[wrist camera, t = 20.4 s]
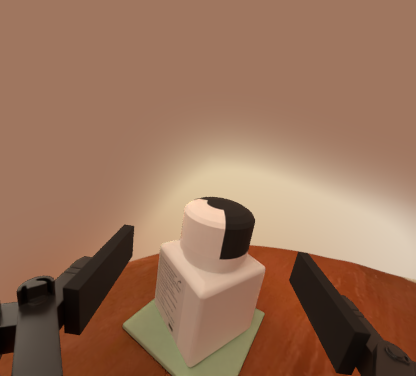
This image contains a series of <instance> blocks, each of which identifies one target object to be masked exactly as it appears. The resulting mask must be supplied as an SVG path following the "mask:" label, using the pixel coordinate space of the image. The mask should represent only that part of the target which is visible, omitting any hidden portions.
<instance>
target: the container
mask: <svg viewBox="0 0 416 376" xmlns="http://www.w3.org/2000/svg"><path fill="white" fill-rule="evenodd" d="M254 224H255V219H254V216H253V214H252V213H251V212H250V211H249V210H248V209H247V208H245V207H244V206H242V205H241V204H239V203H237V202H234V201H231V200H228V199H224V198H218V197H203V198H199V199H195V200H192V201H190V202H189V203H188V204H187V205H186V206H185V210H184V218H183V225H182V232H181V239H179V240H174V241H170V242H165V243H163V244H161V246H160V255H159V265H158V274H157V284H156V293H155V305H156V307H157V309H158V310H159V312H160V314H161V316H162V318H163V320H164V322H165V324H166V326H167V328H168V330H169V332H170V334H171V336H172V338H173V340H174V342H175V343H176V345H177V347H178V349H179V351H180V353H181V355H182V357H183V359H184V361H185V363H186V365H187V366H188V367H190V368H191V367H193V366H195V365H196V364H197V363H199V362H200V361H202V360H203V359H205V358H206V357H208V356H209V355H211V354H212V353H214V352H215V351H217V350H218V349H219V348H221V347H222V346H224V345H225V344H227V343H228V342H230V341H231V340H233V339H234V338H236V337H237V336H239V335H240V334H241V333H243V332H244V331H246V330H247V329H249V327H250V325H251V321H252V318H253V314H254V310H255V307H256V303H257V299H258V296H259V292H260V288H261V285H262V281H263V278H264V274H265V267H264V266H263V265H262V264H261V263H259V262H258V261H257V260H255V259H254V258H253V257H251V256H250V255H249V254H247V253H248V249H249V245H250V241H251V237H252V232H253V228H254Z"/></svg>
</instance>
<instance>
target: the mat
mask: <svg viewBox="0 0 416 376" xmlns="http://www.w3.org/2000/svg"><path fill="white" fill-rule="evenodd" d="M264 314H265V313H263V312H262V311H260V310H258V309H256V308H255V310H254V314H253V318H252V321H251V325H250V327H249V329H247V330H246V331H244V332H243V333H241V334H240V335H239V336H237V337H236V338H234V339H233V340H231V341H230V342H228V343H227V344H225V345H224V346H222V347H221V348H219V349H218V350H217V351H215V352H214V353H212V354H211V355H209V356H208V357H206V358H205V359H203V360H202V361H200V362H199V363H197V364H196V365H195V366H193V367H191V368H190V367H188V366H187V365H186V363H185V361H184V359H183V357H182V355H181V353H180V351H179V349H178V347H177V345H176V343H175V342H174V340H173V338H172V336H171V334H170V332H169V330H168V328H167V326H166V324H165V322H164V320H163V318H162V316H161V314H160V312H159V310H158V309H157V307H156V305H155V299H153V300H152V301H151V302H150V303H148V304H147V305H146V306H145V307H143V308H142V309H141V310H140V311H138V312H137V313H136V314H135V315H133V316H132V317H131V318H130V319H128V320H127V321H126V322H125V323H123V328H124V329H125V330H126V331H127V332H128V333H129V334H130V335H131V336H132V337H133V338H134V339H135V340H136V341H137V342H138V343H139V344H140V345H141V346H142V347H143V348H144V349H145V350H146V351H147V352H148V353H149V354H150V355H151V356H152V357H153V358H154V359H155V360H156V361H157V362H159V363H160V364H161V365H162V366H163V367H164V368H165V369H166V370H167V371H168V372H169V373H170V374H171V375H172V376H238V375H239V372H240V370H241V368H242V365H243V363H244V361H245V359H246V356H247V354H248V352H249V349H250V347H251V345H252V343H253V340H254V338H255V336H256V333H257V331H258V329H259V326H260V324H261V322H262V320H263V317H264Z"/></svg>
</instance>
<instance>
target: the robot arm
mask: <svg viewBox="0 0 416 376" xmlns="http://www.w3.org/2000/svg"><path fill="white" fill-rule="evenodd" d="M133 236H134V226H131V225H124V226H123V227H122V228H121V229H120V230H119V231H118V232H117V233H116V234H115V235H114V236H113V237H112V238H111V239H110V240H109V241H108V242H107V243H106V244H105V245H104V246H103V247H102V248H101V249H100V250H99V251H98V252H97V253H96V254H95V255H94V256H93V257H86V256H84V257H82V258H80V259H79V260H77V261H75V262H74V263H73V264H72V265H71V266H70V268H68V269H67V270H66V271H65V272H64V273H62V274H61V275H60V276H59V277H58V278H57V279H56V280H54V278H52V277H50V276H39V277H35V278H32V279H30V280H27V281H26V282H24V283H23V284H22V285H20V286H19V287H18V290H17V299H18V302H12V303H4V304H1V303H0V359H1V357H2V354H7V353H12V352H14V355H13V365H12V375H11V376H63V371H62V359H61V348H60V337H59V330H60V329H61V328H62V326H63V325H64V331H65V333H69V334H76V335H80V334H81V333H82V331H83V330H84V328H85V327H86V325H87V324H88V322H89V321H90V319H91V318H92V316H93V315H94V313H95V312H96V310H97V309H98V307H99V306H100V304H101V303H102V301H103V300H104V298H105V297H106V295H107V294H108V292H109V291H110V289H111V288H112V286H113V285H114V283H115V282H116V280H117V279H118V277H119V275H120V274H121V272H122V271H123V269H124V268H125V266H126V265H127V263H128V262H129V260H130V259H131V257H132V252H133ZM289 281H290V283H291V285H292V287H293V289H294V291H295V293H296V295H297V297H298V299H299V301H300V303H301V305H302V307H303V309H304V311H305V312H306V314H307V316H308V318H309V320H310V322H311V324H312V326H313V328H314V330H315V332H316V334H317V336H318V338H319V340H320V342H321V344H322V346H323V348H324V350H325V351H326V353H327V355H328V357H329V359H330V361H331V363H332V365H333V367H334V369H335V371H336V373H339V374H346V375H352V373H353V371H354V369H355V367H356V368H357V369H358V371H359V373H360V374H361V376H416V362H414V361H411V359H410V358H409V357H408V355H407V354H406V353H405V352H403V351H402V350H401V349H400V348H399V347H397V346H396V345H394V344H392V343H390V342H388V341H385V340H383V339H382V337H381V336H380V335H379V334H378V332H377V331H376V330H375V329H374V328H373V326H372V325H371V324H370V323H369V322H368V320H367V319H366V318H364V315H363V314H362V313H361V312H359V309H358V308H357V307H356V306H355V305H354V303H353V302H352V301H350V300H349V299H348V298H347V297H346V296H344V295H340V294H339V292H338V291H337V290H336V289H335V287H334V286H333V285H332V283H331V282H330V281H329V280H328V278H327V277H326V276H325V275H324V273H323V272H322V271H321V269H320V268H319V267H318V266H317V264H316V263H315V262H314V261H313V259H312V258H311V257H310V255H309V254H308V253H303V252H298V254H297V257H296V261H295V264H294V267H293V270H292V273H291V276H290V279H289Z"/></svg>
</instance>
